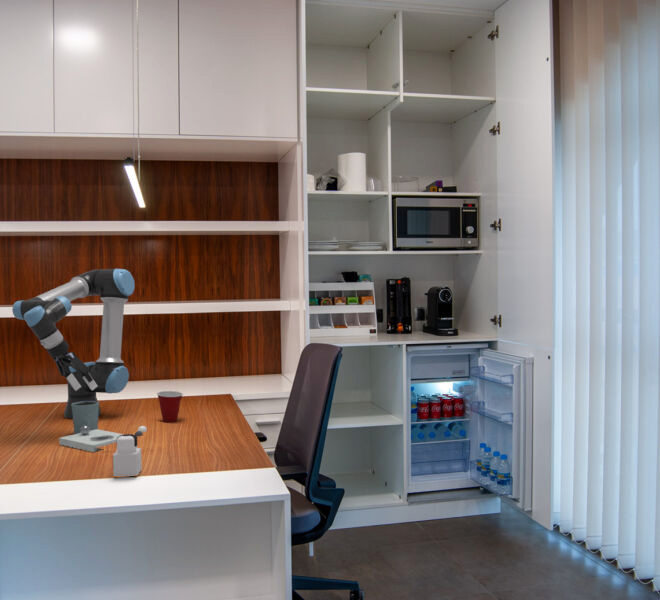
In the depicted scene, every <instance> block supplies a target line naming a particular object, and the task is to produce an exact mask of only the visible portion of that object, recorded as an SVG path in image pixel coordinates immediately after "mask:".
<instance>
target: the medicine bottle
mask: <svg viewBox="0 0 660 600" xmlns="http://www.w3.org/2000/svg"><path fill="white" fill-rule="evenodd" d="M123 434H124V433H123ZM142 463H143V462H142V448H141V447H138V436H136V435H135V434H133V433H125V434H124V435H120V436H119V437H117V442H116V451H115V452H114V453H113V454H112V472H113V473H112V477H113V476H134V475H138V474H139V475H140V473H141V472H142V470H143V468H142V466H143V465H142ZM140 471H141V472H140ZM139 472H140V473H139ZM139 475H138V476H139Z"/></svg>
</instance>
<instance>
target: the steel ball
mask: <svg viewBox="0 0 660 600" xmlns="http://www.w3.org/2000/svg"><path fill="white" fill-rule="evenodd" d="M80 432H81V434H83V435H87V434H88V433H89V432H90V427H89V426H87V425H84V426H82V427H81V428H80Z"/></svg>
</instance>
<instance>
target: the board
mask: <svg viewBox="0 0 660 600" xmlns="http://www.w3.org/2000/svg"><path fill="white" fill-rule="evenodd" d="M120 435H124V433H120V432H113V431H109V430H108V431H107V430H102V429H99V428H98V429H96V430H91V431H90V432H89V433H88V434H87V435H83V434H81V433H78V434H74V433H73V434H71V435H66V436H62V437H59V438H58V443H59V444H60V446H63V445H64V446H63V447H67V446H69V448H72V447H73V449H76V448H77V450H80V449H82V450H81V451H85V450H86V451H85V452H89V451H91V452H90V453H96V451H97V452H101V451H104V449H103V448H101V447H104V446H108V445H112V444H115V443H116V444H117V437H119V436H120ZM59 444H58V445H59ZM100 450H101V451H100Z"/></svg>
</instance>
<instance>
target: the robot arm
mask: <svg viewBox="0 0 660 600" xmlns="http://www.w3.org/2000/svg"><path fill="white" fill-rule="evenodd" d="M134 292H135V279H134V277H133V275H132V274H131V272H130V271H129V270H127V269H124V268H105V269H101V268H100V269H99V268H98V269H93V270H88V271H86V272H83V273H82V274H79V275H77V276H74V277H72V278H70V281H69V282H66V283H65V284H62V285H59V286H57V287H55V288H53V289H49V291H46V292H43V293H41V294H39V295H37V296H35V297H32V298H29V299H26V300H25V299H22V300H18V301H15V302H14V304H13V305H12V315H13V317H15V318H16V319H18V320H23V321H25V322H26V324H27V326H28V327H29V328H30V329H31V331H32V333H34V335H35V336H36V337H37V339H38V340H39V342H40V345H41V346H43V347H44V349H46V352H47V353H48V354H49V356H50V358H52V359H53V361H54V363H55V366H56V367H57V370H58V371H59V374H60V376H61V377H64V378H65V379H66V380H67V382H66V383H67V401H66V404H65V408H64V411H63V416H64V418H65V419H72V420H73V414H72V406H71V404H72V403H75V402H81V401H98V398H97V393H98V394H99V393H100V394H101V393H102V394H118V393H121V392H122V391H123V390H124V389H125V388H126V387H127V384H128V382H129V377H130V374H129V373H130V372H129V370H128V368H127V367H125V366H124V365H125V362H124V360H122V358H121V357H122V340H123V327H124V326H123V324H124V311H125V304H126V303H127V302H128V301H129V296H131V295H133V294H134ZM90 296H100V297H99V299H100V300H101V301H102V302H103V309H102V320H101V321H102V322H101V335H100V349H99V357H98V359H97V360H96V361H88V362H83V361H82V360H81V359H80V358H79V357H78V356H77V354H75V352H74V351H71V352H69V351H68V350H69V349H70V345H69V344H68V342H67V341H66V339H64V336H63V334H62V333H61V331H60V330H59V329H58V327H57V326H56V324H57V323H58V322H59V321H61V320H62V319H64V318H65V317H67V315H68V314H69V313H70V312H71V311H72V308H73V307H72V303H71V302H72V301H74V300H76V299H83V298H86V297H90ZM98 402H99V401H98ZM101 409H102V408H101V407H100V405H99V410H98V416H101V414H102V410H101Z"/></svg>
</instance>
